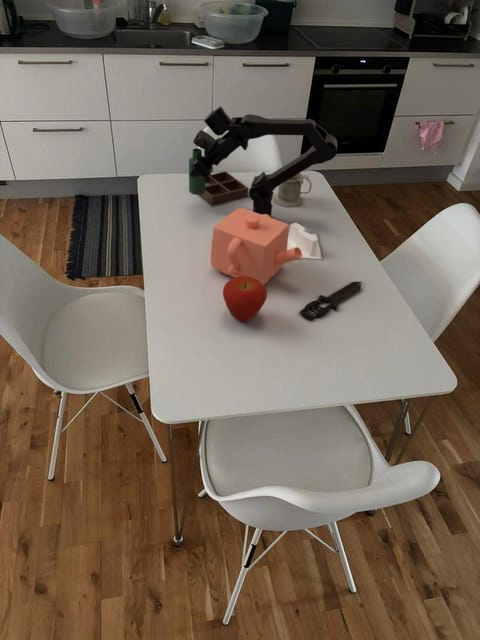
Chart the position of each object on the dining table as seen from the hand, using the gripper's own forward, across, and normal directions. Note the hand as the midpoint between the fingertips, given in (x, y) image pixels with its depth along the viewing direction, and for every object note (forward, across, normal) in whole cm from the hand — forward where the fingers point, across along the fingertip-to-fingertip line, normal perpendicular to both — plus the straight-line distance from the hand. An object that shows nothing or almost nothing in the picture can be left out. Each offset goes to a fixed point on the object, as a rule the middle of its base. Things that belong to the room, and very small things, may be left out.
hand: (193, 172), depth 169 cm
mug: (-14, -17, +32) cm, 39 cm away
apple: (-14, +51, +32) cm, 62 cm away
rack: (+6, -14, +13) cm, 20 cm away
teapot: (-13, +31, +32) cm, 46 cm away
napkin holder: (-20, +10, +38) cm, 44 cm away
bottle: (+4, 0, +6) cm, 7 cm away
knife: (-29, +35, +48) cm, 66 cm away
